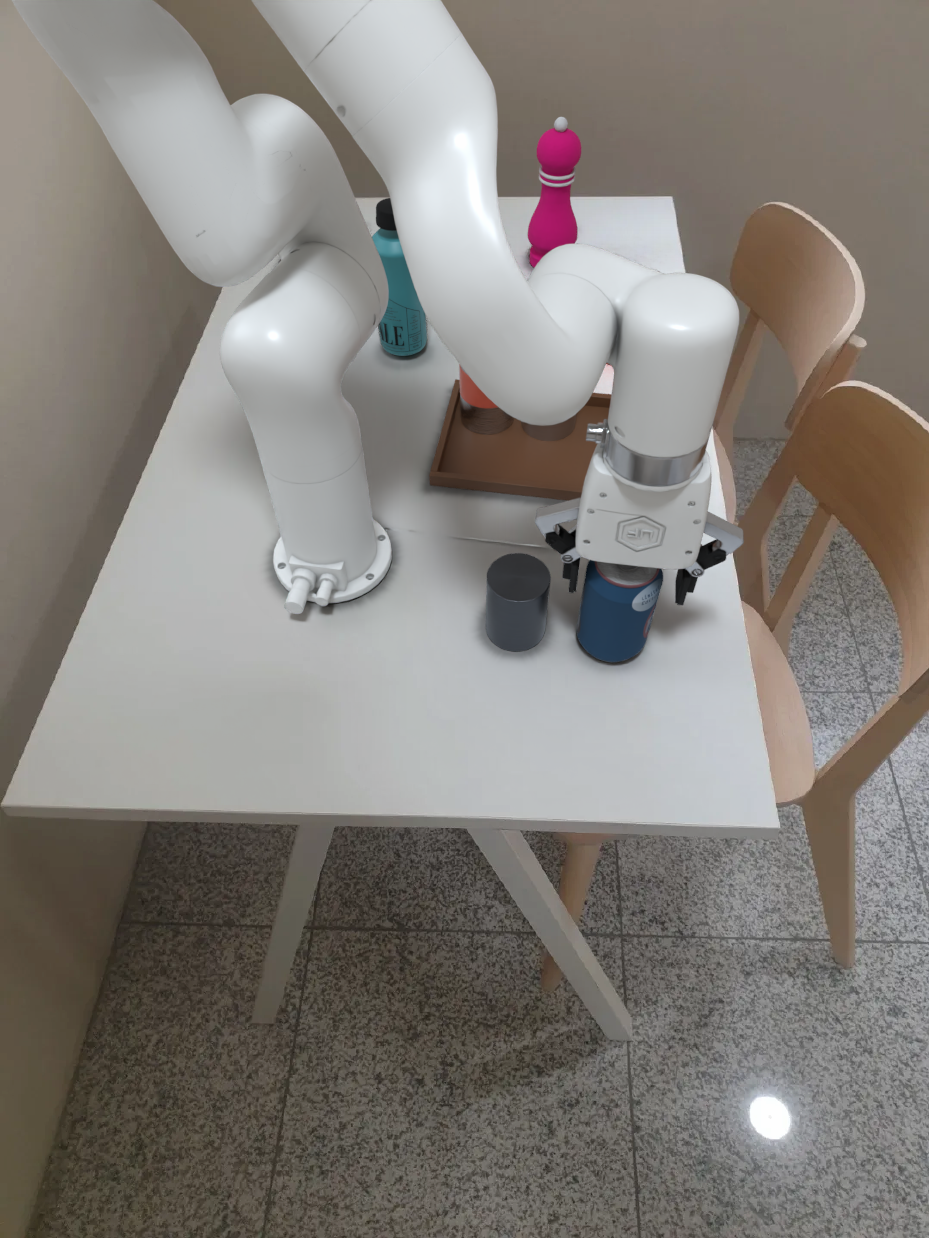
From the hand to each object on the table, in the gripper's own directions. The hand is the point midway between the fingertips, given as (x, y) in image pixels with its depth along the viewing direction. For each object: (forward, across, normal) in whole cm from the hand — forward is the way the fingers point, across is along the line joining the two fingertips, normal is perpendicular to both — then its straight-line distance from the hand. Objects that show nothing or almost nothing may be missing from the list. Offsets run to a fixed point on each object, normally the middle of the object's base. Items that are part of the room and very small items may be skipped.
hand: (625, 587), depth 77 cm
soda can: (+9, 0, 0) cm, 9 cm away
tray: (+8, -12, +27) cm, 31 cm away
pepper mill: (+8, -14, +68) cm, 70 cm away
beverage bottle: (+8, -30, +43) cm, 53 cm away
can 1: (+8, -18, +31) cm, 36 cm away
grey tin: (+8, -10, 0) cm, 13 cm away
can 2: (+8, -10, +31) cm, 34 cm away
